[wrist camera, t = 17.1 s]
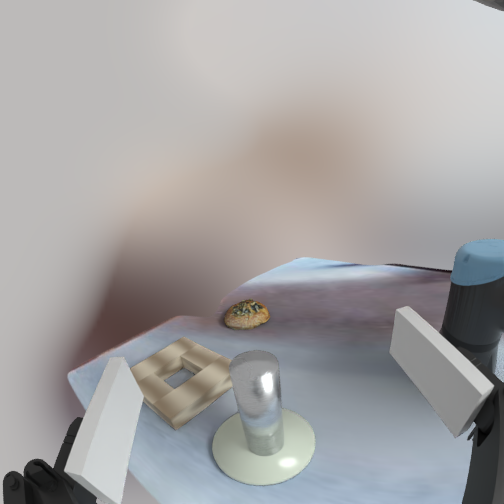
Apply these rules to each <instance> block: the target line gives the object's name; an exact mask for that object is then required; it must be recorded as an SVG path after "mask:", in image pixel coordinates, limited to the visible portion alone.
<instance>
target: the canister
mask: <svg viewBox="0 0 504 504" xmlns="http://www.w3.org/2000/svg"><path fill="white" fill-rule="evenodd" d="M229 373H230V377H231V381H232V386H233V390H234V394H235V398H236V402H237V406H238V410H239V414H240V418H241V422H242V426H243V430H244V434H245V438H246V442H247V445H248V448H249V450H250V451H251V452H252V453H254V454H256V455H258V456H271V455H274V454H276V453H278V452H279V451H280V450H281V449H282V448H283V446H284V428H283V414H282V401H281V388H280V376H279V364H278V360H277V358H276V357H275V356H274V355H273V354H271V353H269V352H266V351H258V350H256V351H248V352H244V353H242V354H240V355H238V356H236V357H235V358H234V359H233V360H232V361H231V362H230V364H229Z"/></svg>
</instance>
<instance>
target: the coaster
mask: <svg viewBox="0 0 504 504" xmlns="http://www.w3.org/2000/svg"><path fill="white" fill-rule="evenodd" d="M282 414H283V428H284V446H283V448H282V449H281V450H280V451H279V452H278V453H276V454H274V455H271V456H258V455H256V454H254V453H252V452H251V451H250V450H249V448H248V445H247V442H246V438H245V434H244V430H243V426H242V422H241V418H240V414H239V413H237V414H235V415H233V416H232V417H230V418H229V419H227V420H226V421H225V422H224V423H223V424H222V425H221V426H220V427H219V429H218V430H217V432H216V434H215V436H214V439H213V443H212V451H213V455H214V458H215V460H216V462H217V464H218V466H219V467H220V469H221V470H222V471H223V472H224V473H225V474H226V475H228V476H229V477H230V478H232V479H234V480H236V481H238V482H241V483H244V484H248V485H254V486H268V485H275V484H279V483H282V482H285V481H287V480H289V479H291V478H293V477H295V476H296V475H298V474H299V473H300V472H301V471H303V470H304V469H305V467H306V466H307V465H308V464H309V462H310V461H311V459H312V457H313V454H314V450H315V435H314V432H313V429H312V427H311V426H310V424H309V423H308V422H307V421H306V420H305V419H304V418H303V417H302V416H300V415H299V414H297V413H295V412H293V411H291V410H288V409H284V408H282Z"/></svg>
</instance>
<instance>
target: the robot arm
mask: <svg viewBox="0 0 504 504" xmlns="http://www.w3.org/2000/svg"><path fill="white" fill-rule="evenodd" d="M474 1H477V2H479V3H482V4H484V5H486V6H489V7H492V8H495V9H498V10H501V11H504V0H474ZM502 333H504V240H497V239H484V240H476V241H472V242H469V243H466V244H464V245H463V246H462V247H461V248H460V249H459V250H458V252H457V253H456V256H455V261H454V267H453V271H452V273H451V287H450V292H449V297H448V302H447V307H446V311H445V315H444V320H443V324H442V328H441V330H440V331H439V333H438V332H437V331H436V330H435V329H434V328H433V327H432V326H431V325H429V324H428V323H427V322H426V321H425V320H424V319H423V318H422V317H420V316H419V315H418V314H417V313H416V312H415V311H413V310H412V309H411V308H410V307H409V306H406V307H403V308H400V309H396V314H395V321H394V328H393V334H392V340H391V346H390V351H389V353H390V354H391V355H392V356H393V358H394V359H395V360H396V361H397V363H398V364H399V365H400V366H401V368H402V369H403V370H404V371H405V373H406V374H407V375H408V376H409V378H410V379H411V380H412V381H413V383H414V384H415V385H416V387H417V388H418V389H419V390H420V392H421V393H422V394H423V396H424V397H425V398H426V399H427V401H428V402H429V403H430V405H431V406H432V407H433V409H434V410H435V411H436V413H437V414H438V415H439V417H440V418H441V419H442V421H443V422H444V423H445V425H446V426H447V427H448V429H449V430H450V432H451V433H452V434H453V436H454V437H455V438H456V437H458V436H459V435H461V434H462V433H464V432H465V431H467V430H468V429H469V427H470V426H471V424H472V423H473V421H474V422H475V424H476V426H475V428H474V429H473V430H472V432H471V433H470V435H469V436H468V439H467V440H470V439H471V437H472V436H473V435H474V437H473V439H472V441H473V447H472V455H471V462H470V468H469V474H468V479H467V484H466V489H465V493H464V497H463V501H462V504H504V383H503V382H502V381H500V380H499V379H498V378H497V377H496V376H495V375H494V373H495V369H496V361H497V351H498V343H499V341H500V338H501V335H502ZM143 398H144V396H143V394H142V392H141V390H140V388H139V386H138V384H137V382H136V380H135V378H134V376H133V374H132V372H131V370H130V368H129V366H128V364H127V362H126V360H125V358H124V357H110V359H109V362H108V364H107V366H106V368H105V370H104V372H103V374H102V376H101V379H100V381H99V383H98V385H97V388H96V390H95V392H94V394H93V397H92V399H91V401H90V404H89V406H88V408H87V411H86V413H85V416H84V418H80V417H77V418H76V419H75V420H74V421H73V423H72V424H71V425H70V427H69V429H68V431H67V436H66V437H65V439H64V443H63V444H62V446H61V449H60V452H59V455H58V457H57V460H56V462H55V465H54V468H52V467H50V466H49V465H48V464H47V463H46V462H45V461H43V460H41V459H34V460H31V461H30V462H28V463H27V465H26V466H25V468H24V477H23V476H22V475H21V474H20V473H18V472H16V471H11V472H9V473H7V474H6V475H5V477H4V480H3V497H4V498H3V499H4V504H97V503H96V499H97V498H98V499H100V500H101V501H103V502H104V503H108V504H121V502H122V495H123V490H124V485H125V479H126V474H127V469H128V464H129V459H130V454H131V449H132V445H133V440H134V436H135V431H136V427H137V423H138V418H139V414H140V410H141V406H142V402H143Z"/></svg>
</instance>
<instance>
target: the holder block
mask: <svg viewBox="0 0 504 504" xmlns="http://www.w3.org/2000/svg"><path fill="white" fill-rule="evenodd" d="M231 361H232V360H230V359H228V358H226V357H224V356H222V355H219V354H217V353H215V352H213V351H211V350H209V349H207V348H205V347H203V346H201V345H199V344H197V343H195V342H193V341H191V340H189V339H187V338H185V337H182V338H181V339H179V340H177V341H176V342H174V343H172V344H171V345H169V346H167V347H166V348H164V349H162V350H161V351H159V352H157V353H155V354H154V355H152V356H150V357H149V358H147V359H145V360H143V361H142V362H140V363H138V364H137V365H135V366H133V367H131V368H130V370H131V372H132V374H133V376H134V378H135V380H136V382H137V384H138V386H139V388H140V390H141V392H142V394H143V396H144V398H143V402H144V403H145V404H146V405H148V406H149V407H150V408H151V409H152V410H153V411H154V412H155V413H156V414H157V415H159V416H160V417H161V418H162V419H163V420H164V421H165V422H167V423H168V424H169V425H170V426H171V427H173V428H174V429H175V430H177V429H179V428H180V427H182V426H183V425H184V424H186V423H187V422H188V421H190V420H191V419H192V418H194V417H195V416H196V415H197V414H199V413H200V412H201V411H203V410H204V409H205V408H206V407H208V406H209V405H210V404H211V403H213V402H214V401H215V400H216V399H218V398H219V397H220V396H221V395H223V394H224V393H225V392H226V391H227V390H229V389H230V388H231V387H232V381H231V377H230V373H229V364H230V362H231ZM182 368H186V369H187V370H189V371H191V372H192V373H194V374H196V375H194V376H193V377H192V378H190V379H189V380H187V381H186V382H184V383H183V384H182V385H180V386H179V387H177V388H176V389H174V388H172V387H171V386H170V385H168V384H167V383H166V382H164V380H166V379H167V378H169V377H170V376H172V375H173V374H175V373H176V372H178V371H179V370H181V369H182Z"/></svg>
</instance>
